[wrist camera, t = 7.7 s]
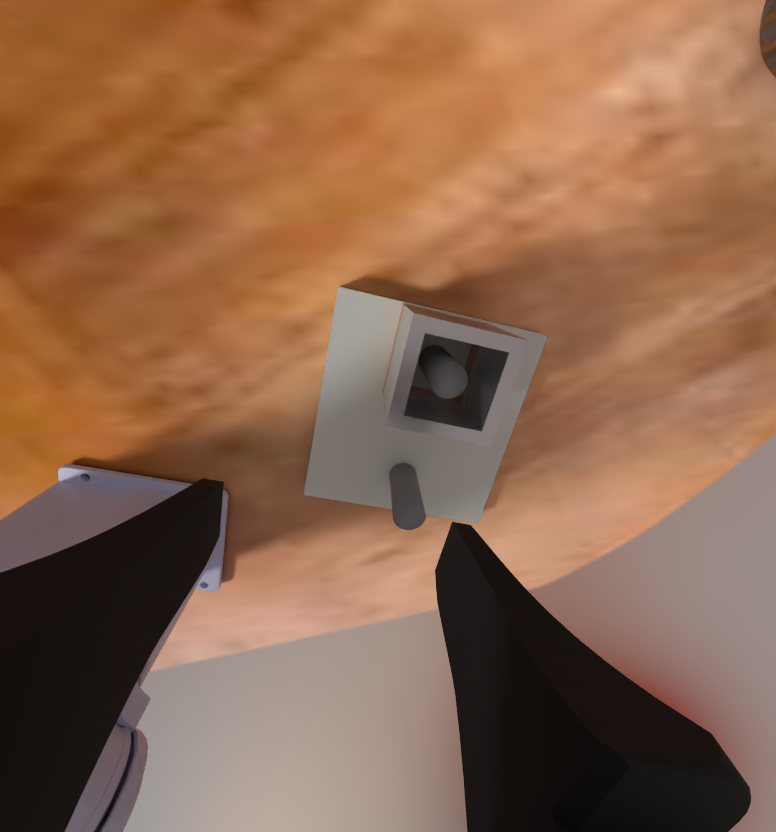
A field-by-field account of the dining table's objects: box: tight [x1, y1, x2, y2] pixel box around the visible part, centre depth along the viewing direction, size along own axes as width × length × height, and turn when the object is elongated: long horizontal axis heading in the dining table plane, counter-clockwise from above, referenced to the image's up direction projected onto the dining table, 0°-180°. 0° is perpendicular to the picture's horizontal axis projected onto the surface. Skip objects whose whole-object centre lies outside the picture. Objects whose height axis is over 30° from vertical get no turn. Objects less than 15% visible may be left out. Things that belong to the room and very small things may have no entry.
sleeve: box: [382, 304, 529, 447], centre depth 17 cm, size 5×5×5 cm
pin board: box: [304, 286, 548, 530], centre depth 19 cm, size 11×12×5 cm
